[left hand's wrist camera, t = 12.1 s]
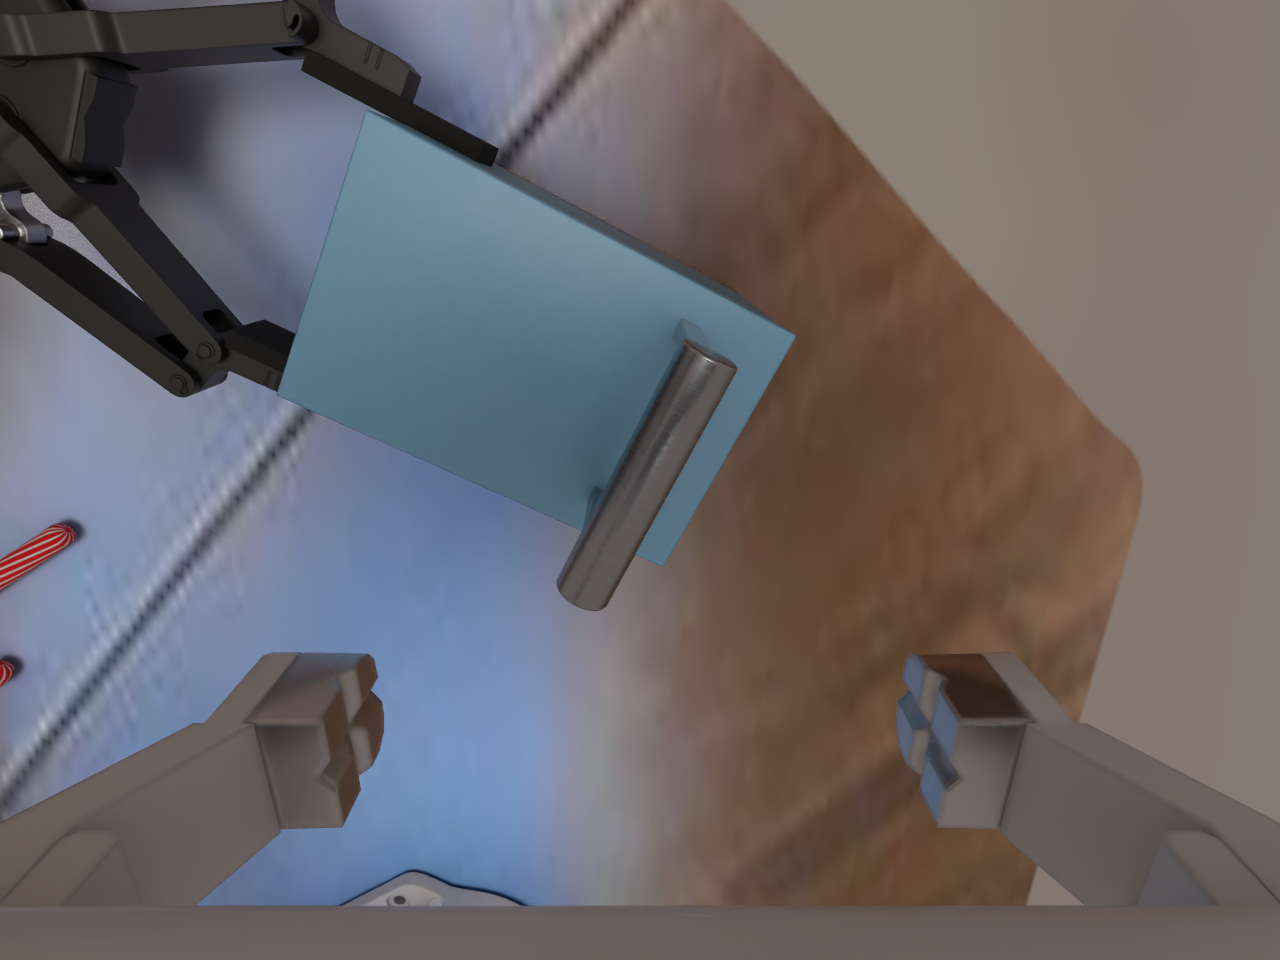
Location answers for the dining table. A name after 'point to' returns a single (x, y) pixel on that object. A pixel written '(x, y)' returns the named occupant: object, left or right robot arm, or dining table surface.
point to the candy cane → (31, 566)
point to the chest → (602, 226)
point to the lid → (525, 352)
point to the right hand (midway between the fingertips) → (438, 285)
